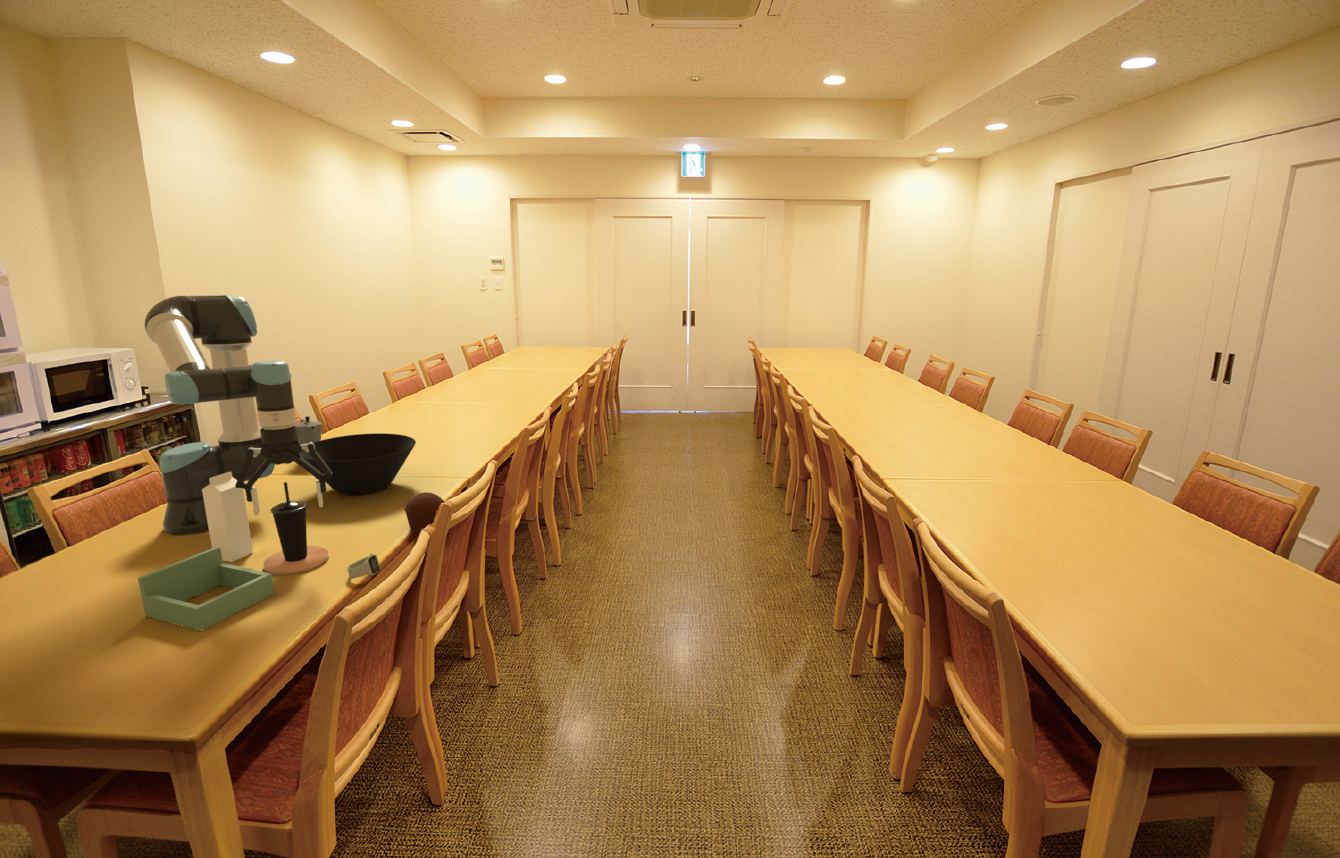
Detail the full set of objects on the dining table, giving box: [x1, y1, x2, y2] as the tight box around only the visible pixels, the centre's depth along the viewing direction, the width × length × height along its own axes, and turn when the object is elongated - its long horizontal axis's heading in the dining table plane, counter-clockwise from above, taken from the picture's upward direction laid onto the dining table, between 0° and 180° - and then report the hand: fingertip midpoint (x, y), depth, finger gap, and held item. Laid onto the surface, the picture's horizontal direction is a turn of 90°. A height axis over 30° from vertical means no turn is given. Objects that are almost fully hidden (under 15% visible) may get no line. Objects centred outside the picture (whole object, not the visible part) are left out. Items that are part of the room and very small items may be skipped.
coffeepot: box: [295, 416, 322, 445], centre depth 238 cm, size 15×9×18 cm, turn 44°
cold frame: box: [137, 547, 275, 632], centre depth 134 cm, size 16×16×9 cm
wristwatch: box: [346, 553, 381, 579], centre depth 150 cm, size 9×6×5 cm
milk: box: [202, 472, 254, 563], centre depth 156 cm, size 6×6×22 cm
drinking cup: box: [270, 481, 308, 562], centre depth 153 cm, size 8×8×20 cm
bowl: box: [299, 432, 417, 496], centre depth 209 cm, size 36×36×15 cm
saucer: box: [263, 545, 329, 576], centre depth 155 cm, size 14×14×1 cm
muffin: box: [403, 492, 445, 534], centre depth 177 cm, size 12×11×10 cm
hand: (289, 509), depth 152 cm, fingers open, 13 cm apart
